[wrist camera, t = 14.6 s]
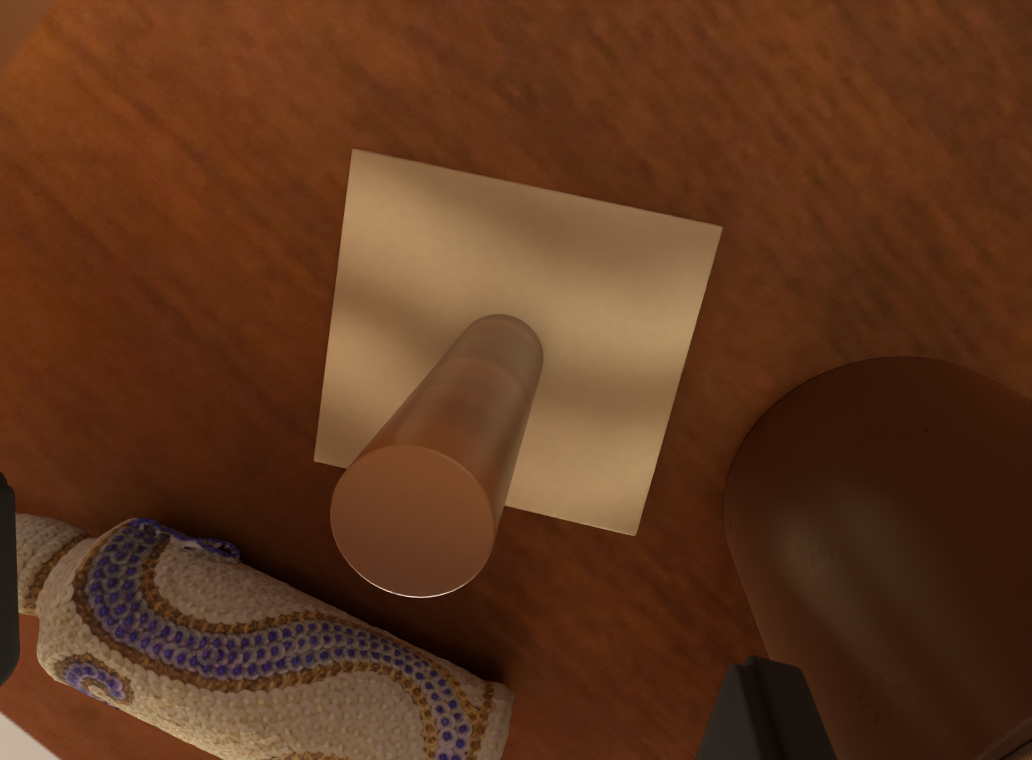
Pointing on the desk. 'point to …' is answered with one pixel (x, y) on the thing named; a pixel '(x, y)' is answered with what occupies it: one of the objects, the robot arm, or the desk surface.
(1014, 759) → the tin
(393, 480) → the stick
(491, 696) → the decorative bottle
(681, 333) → the board
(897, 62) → the desk surface
